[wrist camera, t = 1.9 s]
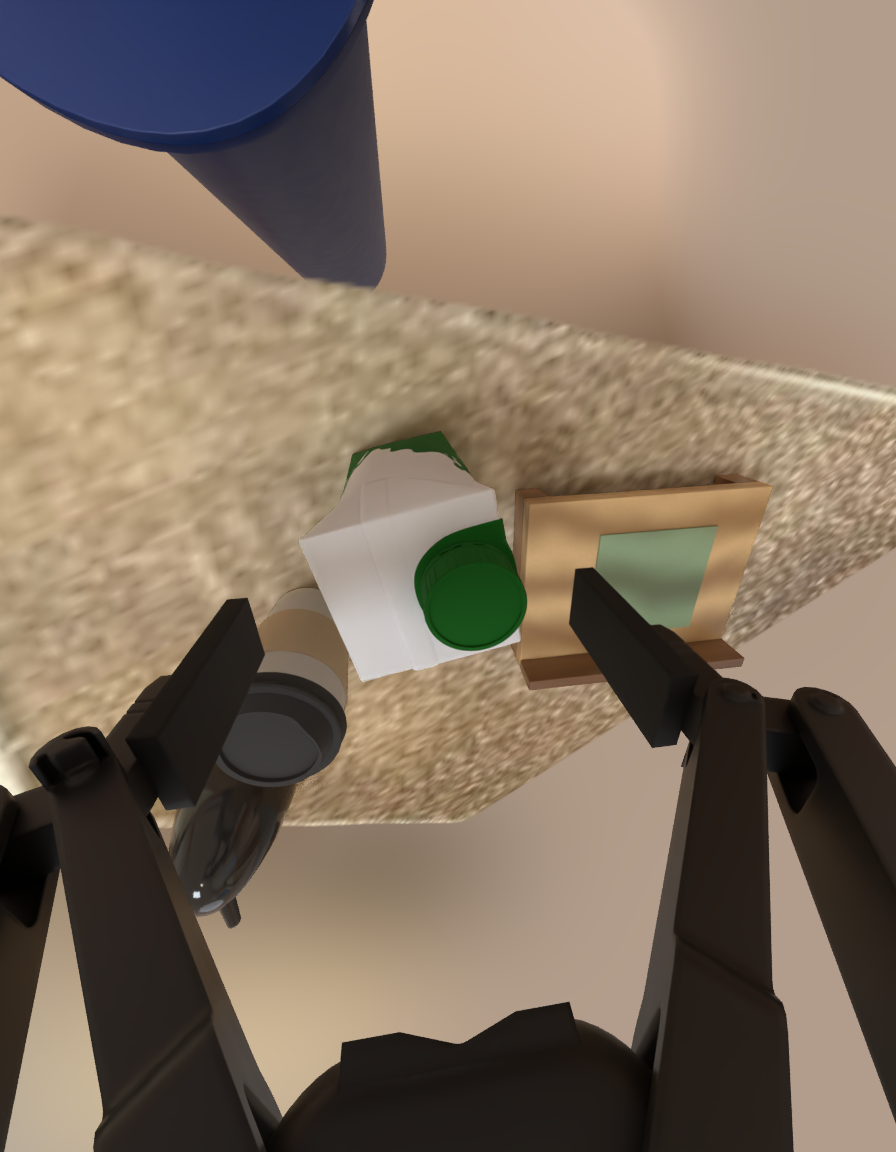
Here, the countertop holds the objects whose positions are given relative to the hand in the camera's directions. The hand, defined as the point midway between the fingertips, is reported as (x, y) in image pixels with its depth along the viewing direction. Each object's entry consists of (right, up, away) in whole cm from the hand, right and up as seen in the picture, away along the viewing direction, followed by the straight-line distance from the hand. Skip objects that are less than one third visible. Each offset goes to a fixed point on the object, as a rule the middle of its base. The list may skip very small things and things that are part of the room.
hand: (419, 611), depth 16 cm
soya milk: (-2, +9, +16) cm, 19 cm away
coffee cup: (-12, -3, +21) cm, 24 cm away
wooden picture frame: (+17, +3, +22) cm, 28 cm away
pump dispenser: (-20, -17, +28) cm, 39 cm away
